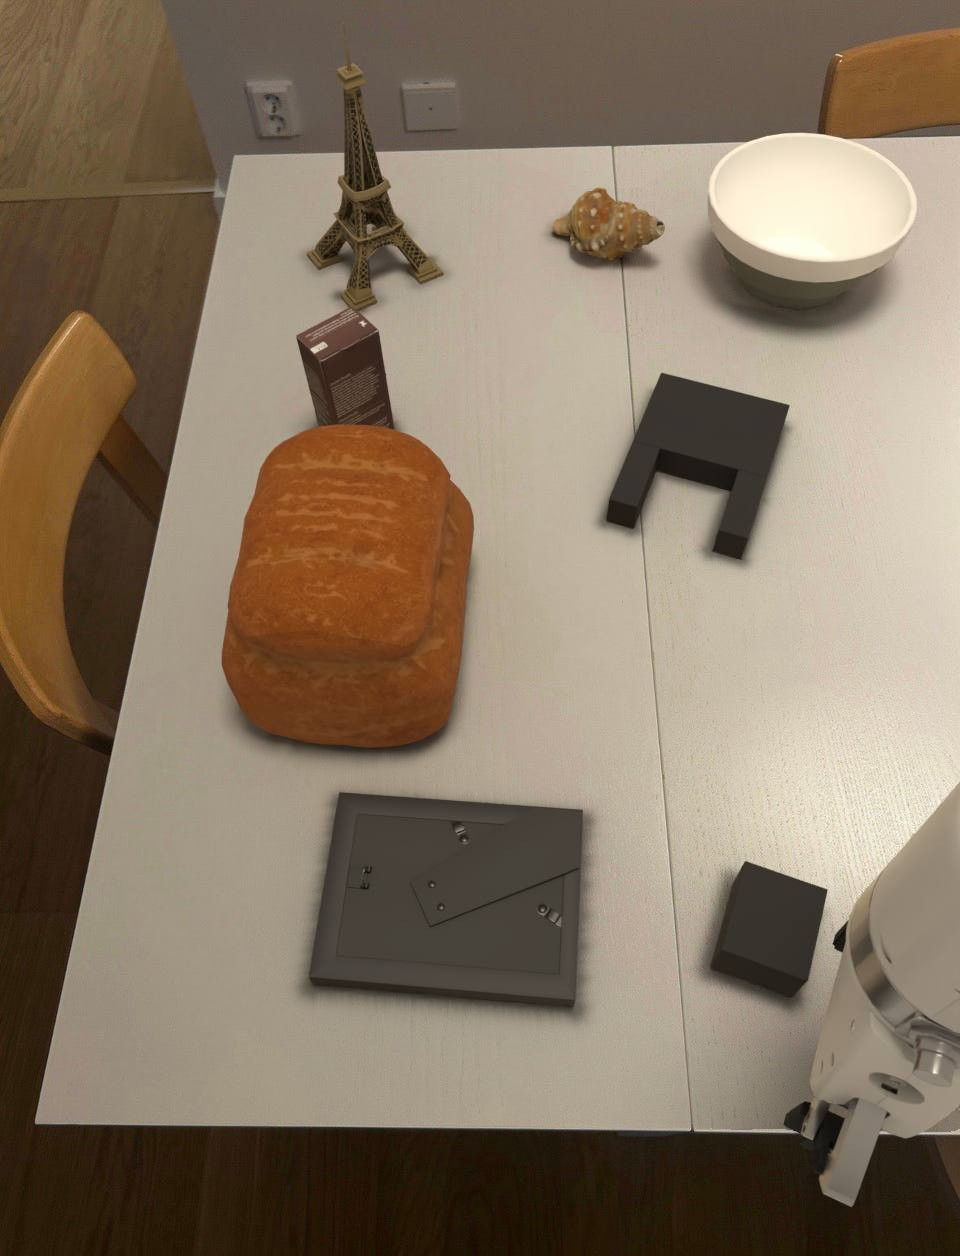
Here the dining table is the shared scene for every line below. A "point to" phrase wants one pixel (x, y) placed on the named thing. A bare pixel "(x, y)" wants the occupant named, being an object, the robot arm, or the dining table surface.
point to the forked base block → (702, 451)
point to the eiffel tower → (364, 203)
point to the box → (346, 371)
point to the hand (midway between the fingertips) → (838, 1039)
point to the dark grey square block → (770, 929)
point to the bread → (350, 590)
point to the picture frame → (451, 899)
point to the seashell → (607, 226)
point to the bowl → (807, 215)
